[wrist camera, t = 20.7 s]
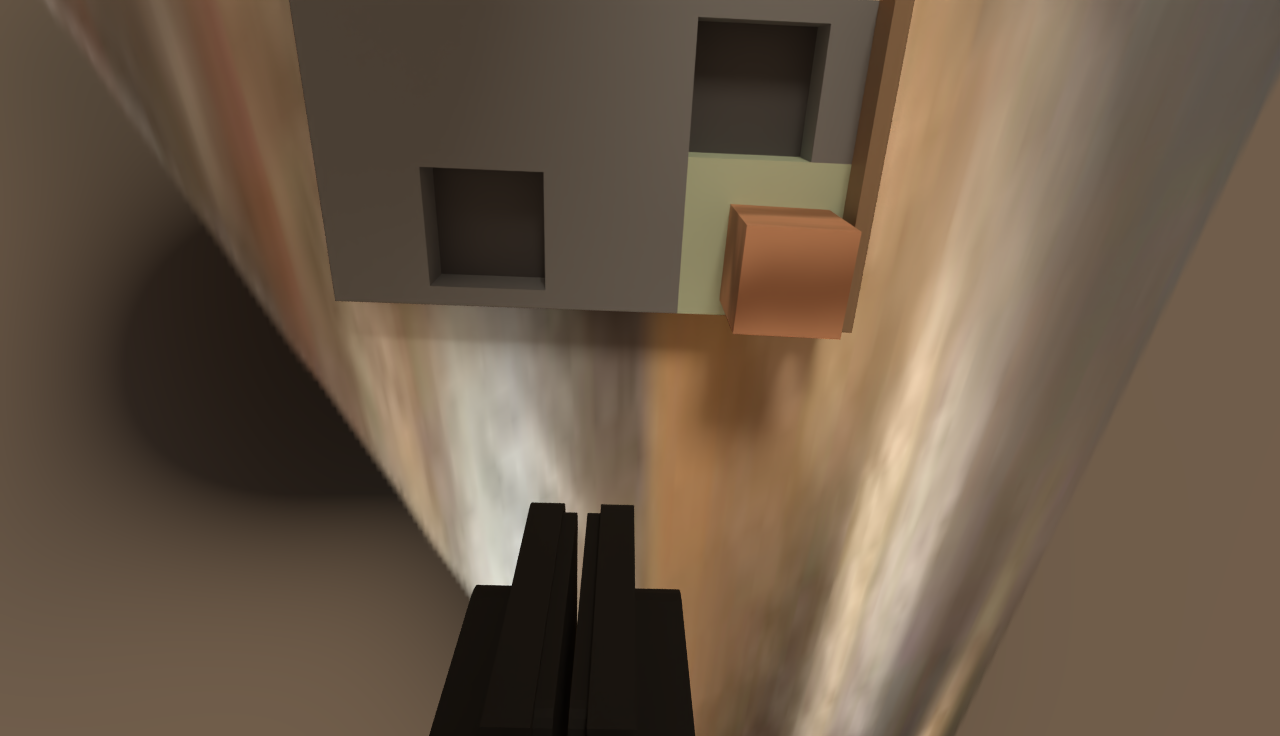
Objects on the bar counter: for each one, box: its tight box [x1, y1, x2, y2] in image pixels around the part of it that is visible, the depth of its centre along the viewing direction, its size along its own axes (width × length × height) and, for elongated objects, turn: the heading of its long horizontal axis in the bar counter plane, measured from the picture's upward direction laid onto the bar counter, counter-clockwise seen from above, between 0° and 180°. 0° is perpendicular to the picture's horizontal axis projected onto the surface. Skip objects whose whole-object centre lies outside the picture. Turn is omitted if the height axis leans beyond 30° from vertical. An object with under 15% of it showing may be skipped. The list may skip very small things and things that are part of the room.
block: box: [719, 204, 862, 339], centre depth 31 cm, size 5×5×5 cm
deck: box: [289, 0, 915, 333], centre depth 32 cm, size 15×27×4 cm, turn 87°
